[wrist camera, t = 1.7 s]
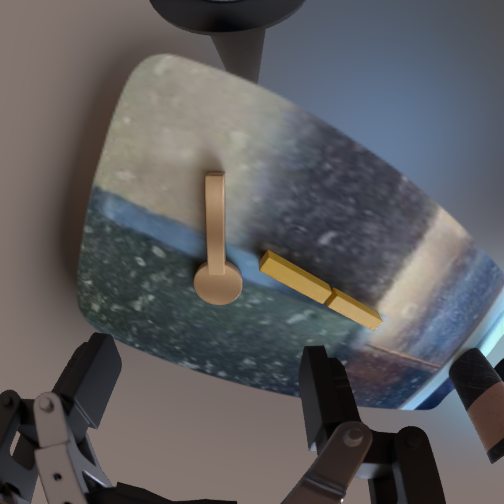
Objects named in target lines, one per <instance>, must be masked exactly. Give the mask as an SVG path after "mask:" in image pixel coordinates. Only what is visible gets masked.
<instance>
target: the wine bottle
mask: <svg viewBox="0 0 504 504" xmlns="http://www.w3.org/2000/svg"><path fill="white" fill-rule="evenodd" d="M494 370H495V371H496V372H497V374H498V375H499V377H500V378H501V379H502V381H503V382H504V358H503V359H502V360H501V361H500V362H499V363H498V364H497V365H496V366H495V368H494Z"/></svg>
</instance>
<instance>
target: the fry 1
mask: <svg viewBox="0 0 504 504" xmlns="http://www.w3.org/2000/svg"><path fill="white" fill-rule="evenodd" d="M259 270H260V271H261V272H263V273H265V274H267V275H269V276H271V277H272V278H274V279H276V280H278V281H280V282H282V283H284V284H285V285H287V286H289V287H291V288H293V289H295V290H297V291H299V292H301V293H302V294H304V295H306V296H308V297H310V298H312V299H314V300H316V301H317V302H319V303H321V304H323V303H324V302H325V300H326V299H327V298H328V297H329V296H330V295H331V294H332V291H331V289H330V287H329V284H327V283H325V282H324V281H322V280H320V279H318V278H317V277H315V276H313V275H311V274H310V273H308V272H306V271H305V270H303V269H301V268H299V267H298V266H296V265H294V264H292V263H291V262H289V261H287V260H285V259H284V258H282V257H280V256H278V255H276V254H275V253H273V252H271V251H269V250H267V251H266V253H265V254H264V256H263V257H262V258H261V260H260V261H259Z"/></svg>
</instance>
